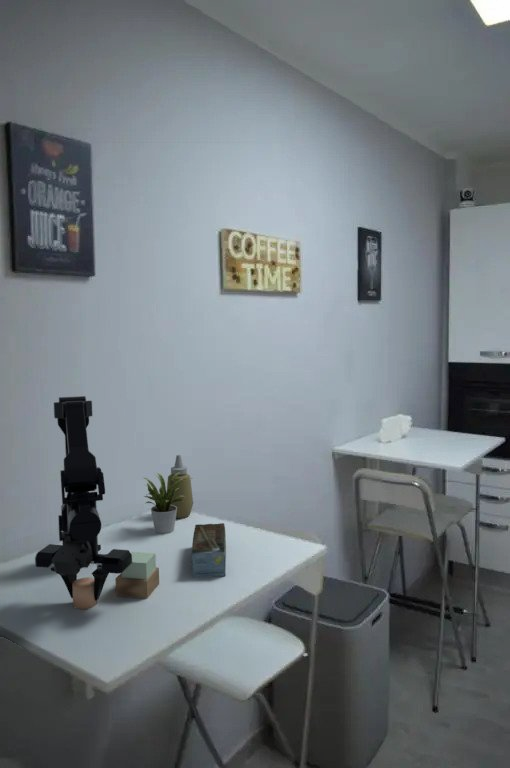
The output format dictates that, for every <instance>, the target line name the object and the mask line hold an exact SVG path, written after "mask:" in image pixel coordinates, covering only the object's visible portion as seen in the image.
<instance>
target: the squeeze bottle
mask: <svg viewBox="0 0 510 768" xmlns="http://www.w3.org/2000/svg"><path fill="white" fill-rule="evenodd" d="M183 464H184V463H183V460H182V456H181V454H177V455H176V457H175V461H174V466H172V467H171V468H170V474H169V475H168V476H167V483H166V491H167V490H168V486H169V482H170V480H171V479H172V477H173V476H174V475H175V474H177V473H179V472H181V473H179V474H178V475H177V477H176V479H175V480H174V482H173V484H172V486H171V488H172V487H173V486H174V484H175V483H176V482H178V481H179V480H180V479H182V480H184V479H187V478H191V476H190V474H189V473H188V470H187V469H188V467H187V466H184V465H183ZM182 480H181V481H182ZM191 480H192V479H187V480H185V481H183V482H182V483H180V482H181V481H180V482H179V483H180V484H179V483H178V484H179V486H178V487H177V488H179V489H178V490H177V491H176V493H175V494H174V496H173V498H172V501H174V498H175V497H177V496H179V495H183V496H184V497H178V498H176V499H181V500H183V501H176V502H173V503H172V504H170V505H174V506H176V507H177V513H176V519H184V518H187V516H188V517H189V516H190V515H191V512H192V510H193V507H194V506H193V505H194V498H193V489H192V481H191ZM173 488H174V487H173ZM173 488H172V489H173ZM177 488H176V489H177ZM176 499H175V500H176ZM172 501H171V502H172ZM183 517H184V518H183Z"/></svg>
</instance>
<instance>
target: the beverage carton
mask: <svg viewBox="0 0 510 768" xmlns="http://www.w3.org/2000/svg"><path fill="white" fill-rule="evenodd" d="M225 525H226V524H225V523H220V522H219V523H207V524H205V523H204V524H195V526H194V530H193V537H192V545H191V546H192V547H191V561H190V562H191V571H192V578H205V576H215V577H226V567H227V566H226V564H227V562H226V561H227V560H226V559H227V555H226V554H227V550H226V549H227V540H226V539H227V538H226V535H227V533H226V526H225Z"/></svg>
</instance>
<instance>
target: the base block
mask: <svg viewBox="0 0 510 768" xmlns="http://www.w3.org/2000/svg"><path fill="white" fill-rule="evenodd" d="M159 585H160V567H157V566H156V569H155V571H154V572H153V573H152V574H151V575H150V576H149V577H148V579H135V578H122V573H119V574H118V575H117V576H116V577H115V596H119V597H129V598H139V599H140V598H141V599H148V598H149V597H150V596H151V595H152V593H153V592H154V591H155V590H156V589H157V588H158V586H159Z"/></svg>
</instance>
